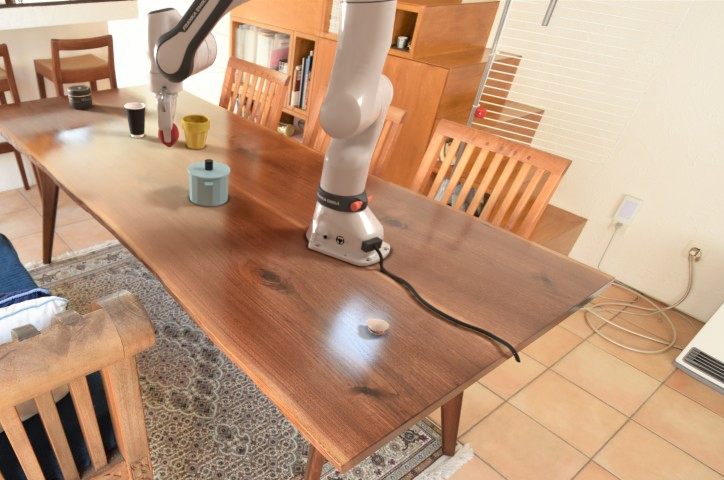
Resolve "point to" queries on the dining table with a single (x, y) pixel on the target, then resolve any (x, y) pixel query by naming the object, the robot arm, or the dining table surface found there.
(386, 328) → the macaroon
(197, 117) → the flower pot
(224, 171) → the pot lid
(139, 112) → the dixie cup
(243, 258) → the dining table surface
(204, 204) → the pot
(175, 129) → the onion
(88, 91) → the jar
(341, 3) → the robot arm
